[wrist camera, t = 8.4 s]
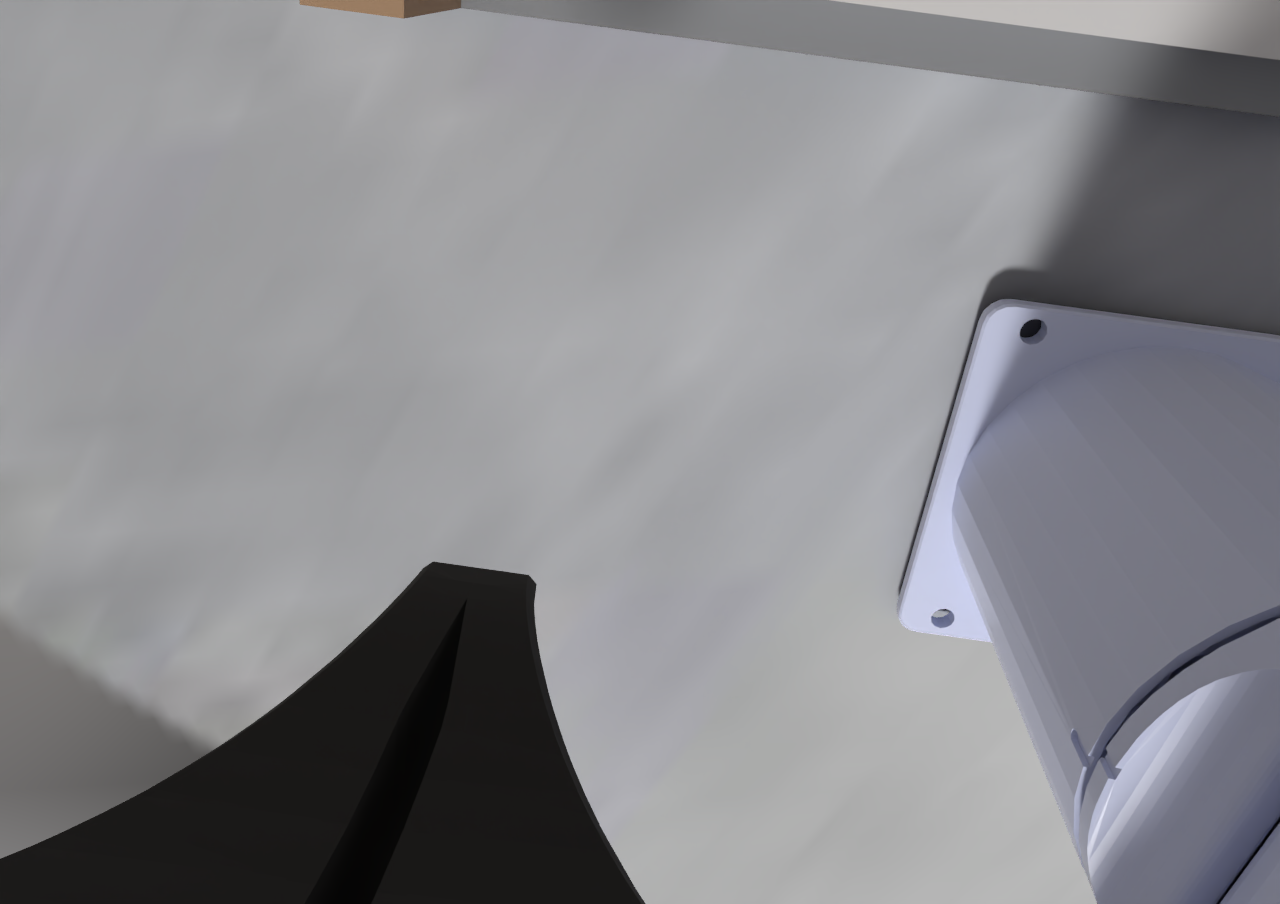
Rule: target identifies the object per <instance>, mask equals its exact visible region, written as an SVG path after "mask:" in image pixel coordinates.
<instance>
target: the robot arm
mask: <svg viewBox="0 0 1280 904" xmlns="http://www.w3.org/2000/svg"><path fill="white" fill-rule="evenodd" d="M1033 319H1039V320H1041V328H1040V330H1039V331H1038V333H1037V334H1035V335H1034V336H1032V337H1027V338H1023V337H1021V336H1020V329H1021V328H1022V326H1023V324H1024V323H1026V322H1028V321H1029V320H1033ZM535 591H536V583H535V582H534V581H533V580H532V578H531V577H530V576H529V575H524V574H517V573H510V572H503V571H496V570H489V569H481V568H474V567H467V566H460V565H453V564H446V563H439V562H432V563H430V564H429V565H427V566H426V567H424V568H423V569H422V571H421V572H420V573H419V574H418V575H417V576H416V578H415V579H414V580H413V581H412V582H411V583H410V584H409V585H408V586H407V588H406V589H405V590H404V591H403V592H402V593H401V594H400V595H399V596H398V597H397V598H396V599H395V600H394V601H393V603H392V604H391V605H390V606H389V607H388V608H387V609H386V610H385V611H384V612H383V613H382V614H381V615H380V616H379V617H378V618H377V619H376V620H375V621H374V622H373V623H372V624H371V625H370V626H368V627H367V628H366V629H365V630H364V631H363V632H362V633H361V634H360V635H359V636H358V637H357V638H356V639H355V640H354V641H353V642H352V643H350V644H349V645H348V646H347V647H346V648H345V649H344V650H343V651H342V652H341V653H340V654H339V655H338V656H336V657H335V658H334V659H333V660H332V661H331V662H330V663H328V664H327V665H326V666H325V667H324V668H322V669H321V670H320V671H319V672H318V673H316V674H315V675H314V676H313V677H312V678H310V679H309V680H308V681H307V682H306V683H304V684H303V685H302V686H301V687H300V688H298V689H297V690H296V691H295V692H294V693H292V694H291V695H290V696H289V697H287V698H286V699H285V700H284V701H282V702H281V703H280V704H278V705H277V706H276V707H274V708H273V709H272V710H270V711H269V712H268V713H266V714H265V715H264V716H262V717H261V718H260V719H258V720H257V721H255V722H254V723H253V724H251V725H250V726H248V727H247V728H245V729H244V730H243V731H241V732H240V733H238V734H237V735H235V736H234V737H232V738H231V739H230V740H228V741H227V742H225V743H224V744H222V745H221V746H219V747H218V748H216V749H214V750H213V751H211V752H210V753H208V754H206V755H205V756H203V757H201V758H200V759H198V760H197V761H195V762H193V763H192V764H191V765H189V766H187V767H185V768H184V769H182V770H180V771H179V772H177V773H175V774H174V775H172V776H170V777H168V778H167V779H165V780H163V781H162V782H160V783H158V784H157V785H155V786H153V787H151V788H150V789H148V790H146V791H144V792H142V793H140V794H139V795H137V796H135V797H133V798H131V799H129V800H127V801H125V802H123V803H121V804H119V805H117V806H115V807H114V808H111V809H109V810H108V811H106V812H104V813H102V814H100V815H98V816H95V817H93V818H91V819H89V820H87V821H85V822H83V823H81V824H79V825H77V826H75V827H72V828H70V829H69V830H66V831H64V832H62V833H60V834H58V835H55V836H53V837H51V838H49V839H46V840H44V841H42V842H40V843H38V844H35V845H33V846H31V847H28V848H26V849H23V850H21V851H18V852H16V853H14V854H11V855H9V856H7V857H4V858H1V859H0V904H645V902H644V901H643V899H642V898H641V896H640V895H639V893H638V892H637V890H636V889H635V887H634V885H633V884H632V882H631V880H630V878H629V877H628V875H627V873H626V871H625V869H624V868H623V866H622V864H621V862H620V861H619V859H618V857H617V855H616V854H615V852H614V850H613V848H612V847H611V845H610V843H609V841H608V840H607V838H606V836H605V834H604V833H603V831H602V829H601V827H600V825H599V823H598V821H597V819H596V817H595V814H594V812H593V810H592V808H591V806H590V804H589V802H588V800H587V798H586V796H585V793H584V791H583V789H582V786H581V784H580V782H579V779H578V777H577V775H576V772H575V770H574V768H573V765H572V762H571V760H570V757H569V755H568V752H567V749H566V746H565V744H564V741H563V738H562V735H561V732H560V729H559V726H558V723H557V720H556V717H555V714H554V710H553V707H552V703H551V700H550V696H549V693H548V689H547V684H546V680H545V676H544V672H543V667H542V663H541V659H540V654H539V648H538V642H537V635H536V627H535V616H534V600H535ZM939 609H947V610H950V612H949V613H948V614H947V615H946V616H944V617H938V618H936V617H933V616H932V615H933V613H934V612H936V611H938V610H939ZM897 613H898V617H899V620H900V622H901V624H902V625H903V626H904V627H906V628H907V629H909V630H912V631H915V632H922V633H929V634H936V635H943V636H950V637H958V638H965V639H972V640H979V641H986V642H992V644H993V646H994V649H995V651H996V654H997V656H998V659H999V661H1000V664H1001V666H1002V668H1003V671H1004V673H1005V676H1006V678H1007V681H1008V683H1009V686H1010V688H1011V691H1012V693H1013V696H1014V698H1015V701H1016V703H1017V706H1018V708H1019V711H1020V713H1021V715H1022V718H1023V720H1024V723H1025V725H1026V728H1027V730H1028V733H1029V735H1030V738H1031V740H1032V743H1033V745H1034V748H1035V750H1036V753H1037V755H1038V758H1039V760H1040V763H1041V765H1042V767H1043V770H1044V772H1045V775H1046V777H1047V780H1048V782H1049V785H1050V787H1051V790H1052V792H1053V795H1054V797H1055V800H1056V802H1057V805H1058V807H1059V810H1060V812H1061V815H1062V817H1063V819H1064V822H1065V824H1066V827H1067V829H1068V832H1069V834H1070V837H1071V839H1072V842H1073V844H1074V847H1075V849H1076V852H1077V854H1078V857H1079V859H1080V862H1081V864H1082V866H1083V868H1084V870H1085V872H1086V875H1087V877H1088V880H1089V883H1090V885H1091V888H1092V890H1093V893H1094V896H1095V898H1096V901H1097V904H1280V335H1274V334H1267V333H1259V332H1252V331H1245V330H1237V329H1230V328H1222V327H1215V326H1208V325H1200V324H1193V323H1185V322H1178V321H1171V320H1163V319H1156V318H1148V317H1141V316H1134V315H1126V314H1119V313H1112V312H1104V311H1097V310H1089V309H1082V308H1075V307H1067V306H1060V305H1052V304H1045V303H1038V302H1030V301H1023V300H1016V299H1001V300H998V301H996V302H994V303H991V304H990V305H989V306H988V307H987V308H986V309H985V310H984V311H983V313H982V315H981V317H980V319H979V321H978V325H977V328H976V332H975V335H974V339H973V342H972V346H971V349H970V353H969V356H968V359H967V363H966V366H965V370H964V373H963V377H962V380H961V384H960V387H959V391H958V394H957V398H956V401H955V405H954V408H953V411H952V415H951V418H950V422H949V425H948V429H947V432H946V436H945V439H944V443H943V446H942V450H941V453H940V457H939V460H938V463H937V467H936V470H935V474H934V477H933V481H932V484H931V488H930V491H929V495H928V498H927V502H926V505H925V509H924V512H923V515H922V519H921V522H920V526H919V529H918V533H917V536H916V540H915V543H914V547H913V550H912V554H911V557H910V560H909V564H908V567H907V571H906V574H905V578H904V581H903V585H902V588H901V592H900V595H899V599H898V602H897Z"/></svg>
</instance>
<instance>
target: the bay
mask: <svg viewBox="0 0 1280 904" xmlns="http://www.w3.org/2000/svg"><path fill="white" fill-rule="evenodd" d="M300 5H308V6H315V7H323V8H330V9H338V10H345V11H353V12H360V13H368V14H375V15H383V16H390V17H398V18H408V17H414V16H419V15H425V14H430V13H436V12H441V11H447V10H452V9H458V8H465V9H473V10H480V11H488V12H495V13H503V14H510V15H518V16H525V17H533V18H540V19H548V20H555V21H563V22H570V23H578V24H585V25H593V26H600V27H608V28H615V29H623V30H630V31H638V32H645V33H653V34H660V35H668V36H675V37H683V38H690V39H698V40H705V41H713V42H720V43H728V44H735V45H743V46H751V47H758V48H766V49H773V50H781V51H788V52H796V53H803V54H811V55H818V56H826V57H833V58H841V59H848V60H856V61H863V62H871V63H878V64H886V65H893V66H901V67H908V68H916V69H923V70H931V71H938V72H946V73H953V74H961V75H968V76H976V77H983V78H991V79H998V80H1006V81H1013V82H1021V83H1028V84H1036V85H1043V86H1051V87H1058V88H1066V89H1073V90H1081V91H1088V92H1096V93H1103V94H1111V95H1118V96H1126V97H1133V98H1141V99H1148V100H1156V101H1163V102H1171V103H1178V104H1186V105H1193V106H1201V107H1208V108H1216V109H1223V110H1231V111H1238V112H1246V113H1253V114H1261V115H1268V116H1276V117H1280V0H300Z"/></svg>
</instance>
